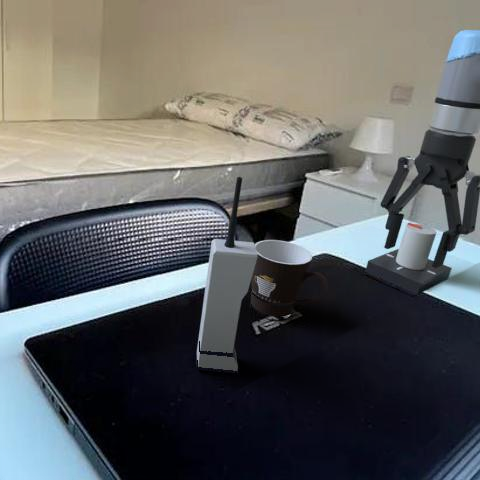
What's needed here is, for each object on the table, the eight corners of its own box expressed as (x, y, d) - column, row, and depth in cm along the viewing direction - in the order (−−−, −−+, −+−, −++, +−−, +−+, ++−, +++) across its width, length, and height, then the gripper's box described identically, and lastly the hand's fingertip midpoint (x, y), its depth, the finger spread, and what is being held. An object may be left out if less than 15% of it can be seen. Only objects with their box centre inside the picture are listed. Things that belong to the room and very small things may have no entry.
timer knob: (429, 266, 92) (442, 229, 89) (416, 272, 89) (429, 234, 86) (403, 256, 95) (414, 220, 92) (390, 261, 92) (401, 224, 89)
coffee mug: (233, 299, 80) (242, 242, 76) (277, 292, 84) (288, 237, 80) (275, 339, 71) (288, 277, 67) (323, 330, 74) (338, 270, 70)
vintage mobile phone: (236, 375, 62) (270, 184, 53) (197, 371, 62) (223, 179, 53) (234, 357, 66) (265, 174, 56) (196, 354, 66) (221, 170, 56)
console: (447, 282, 93) (452, 267, 92) (416, 298, 86) (421, 282, 85) (396, 261, 100) (400, 247, 99) (364, 274, 93) (368, 259, 92)
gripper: (531, 144, 77) (482, 274, 86) (401, 119, 92) (370, 232, 101) (515, 148, 73) (464, 285, 82) (380, 120, 87) (350, 239, 96)
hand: (412, 256), depth 91 cm, fingers open, 8 cm apart
